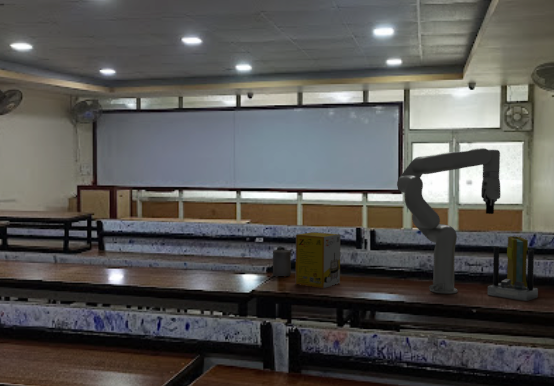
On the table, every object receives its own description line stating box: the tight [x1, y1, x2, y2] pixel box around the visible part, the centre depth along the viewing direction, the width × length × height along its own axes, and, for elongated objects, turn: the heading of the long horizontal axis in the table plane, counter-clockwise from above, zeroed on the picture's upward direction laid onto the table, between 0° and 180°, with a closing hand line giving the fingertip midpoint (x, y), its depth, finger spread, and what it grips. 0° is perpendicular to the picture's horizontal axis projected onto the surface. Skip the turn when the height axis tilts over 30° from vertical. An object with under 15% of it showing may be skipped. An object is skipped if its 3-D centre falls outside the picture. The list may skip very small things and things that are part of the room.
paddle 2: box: [515, 282, 524, 286], centre depth 268 cm, size 4×2×2 cm, turn 134°
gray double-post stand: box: [487, 245, 539, 302], centre depth 270 cm, size 12×18×22 cm, turn 44°
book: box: [506, 235, 529, 287], centre depth 286 cm, size 17×7×25 cm, turn 168°
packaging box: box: [295, 231, 341, 289], centre depth 296 cm, size 16×16×25 cm
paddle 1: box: [500, 278, 511, 286], centre depth 272 cm, size 4×2×2 cm, turn 134°
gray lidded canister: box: [272, 249, 292, 277], centre depth 319 cm, size 10×10×15 cm
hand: (489, 213), depth 283 cm, fingers closed
